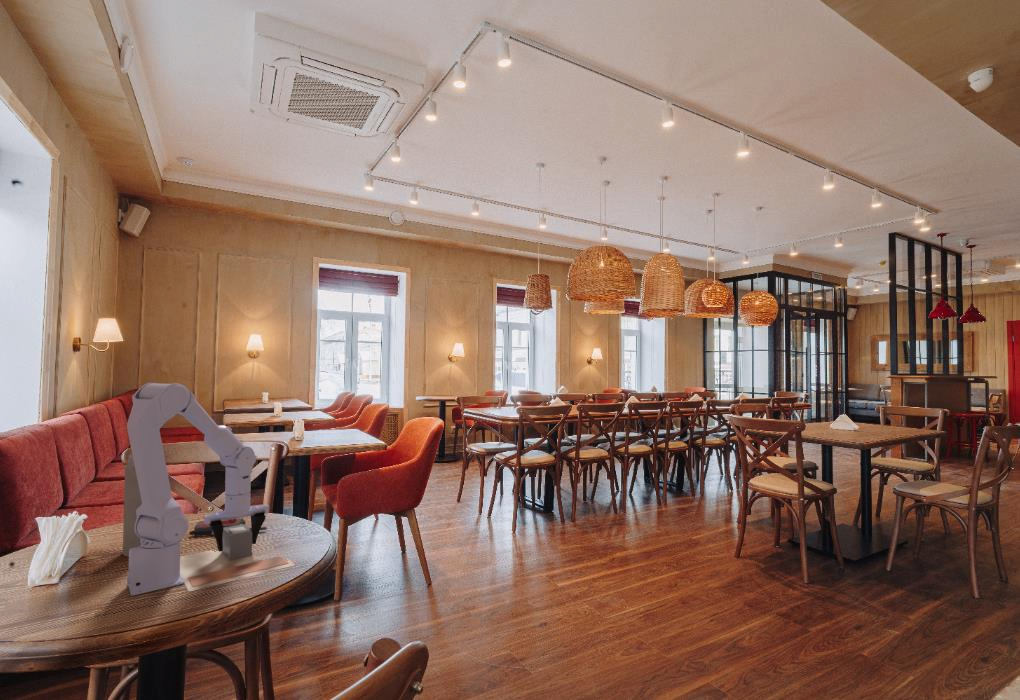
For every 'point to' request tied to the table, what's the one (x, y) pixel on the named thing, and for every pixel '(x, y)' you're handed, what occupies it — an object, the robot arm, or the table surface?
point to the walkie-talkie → (206, 529)
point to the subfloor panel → (223, 568)
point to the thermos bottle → (130, 507)
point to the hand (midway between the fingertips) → (237, 546)
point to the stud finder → (237, 542)
